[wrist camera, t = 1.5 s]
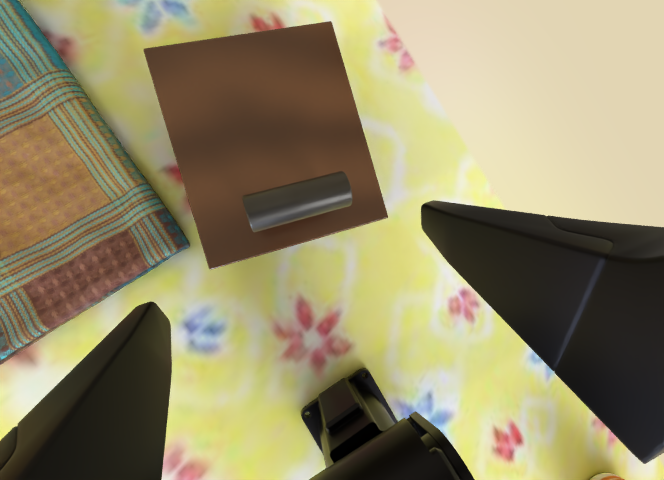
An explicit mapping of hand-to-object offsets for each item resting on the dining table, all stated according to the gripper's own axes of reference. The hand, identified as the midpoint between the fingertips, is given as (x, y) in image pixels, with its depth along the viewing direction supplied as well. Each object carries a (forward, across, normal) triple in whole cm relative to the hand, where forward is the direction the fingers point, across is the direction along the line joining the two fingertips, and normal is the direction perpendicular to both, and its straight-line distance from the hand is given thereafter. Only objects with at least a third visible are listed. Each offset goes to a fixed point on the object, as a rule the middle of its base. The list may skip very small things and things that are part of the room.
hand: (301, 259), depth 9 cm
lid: (+11, -1, -1) cm, 12 cm away
